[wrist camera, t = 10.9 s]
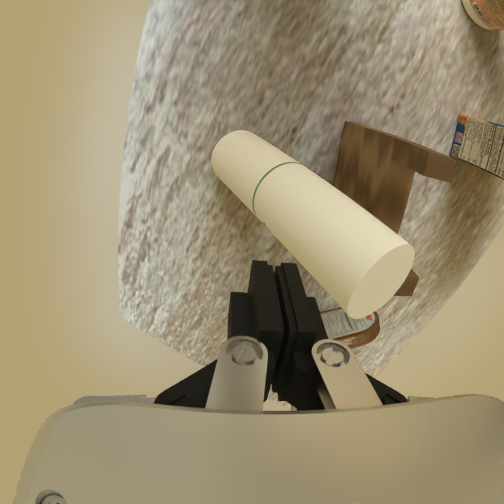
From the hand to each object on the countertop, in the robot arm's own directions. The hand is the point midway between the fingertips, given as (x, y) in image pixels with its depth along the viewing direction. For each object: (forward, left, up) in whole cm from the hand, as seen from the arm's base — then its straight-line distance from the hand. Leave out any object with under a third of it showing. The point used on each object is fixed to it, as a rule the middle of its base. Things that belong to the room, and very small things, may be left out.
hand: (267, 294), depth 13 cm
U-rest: (+1, +14, -32) cm, 35 cm away
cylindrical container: (+1, -1, -31) cm, 31 cm away
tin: (+26, +18, -32) cm, 45 cm away
